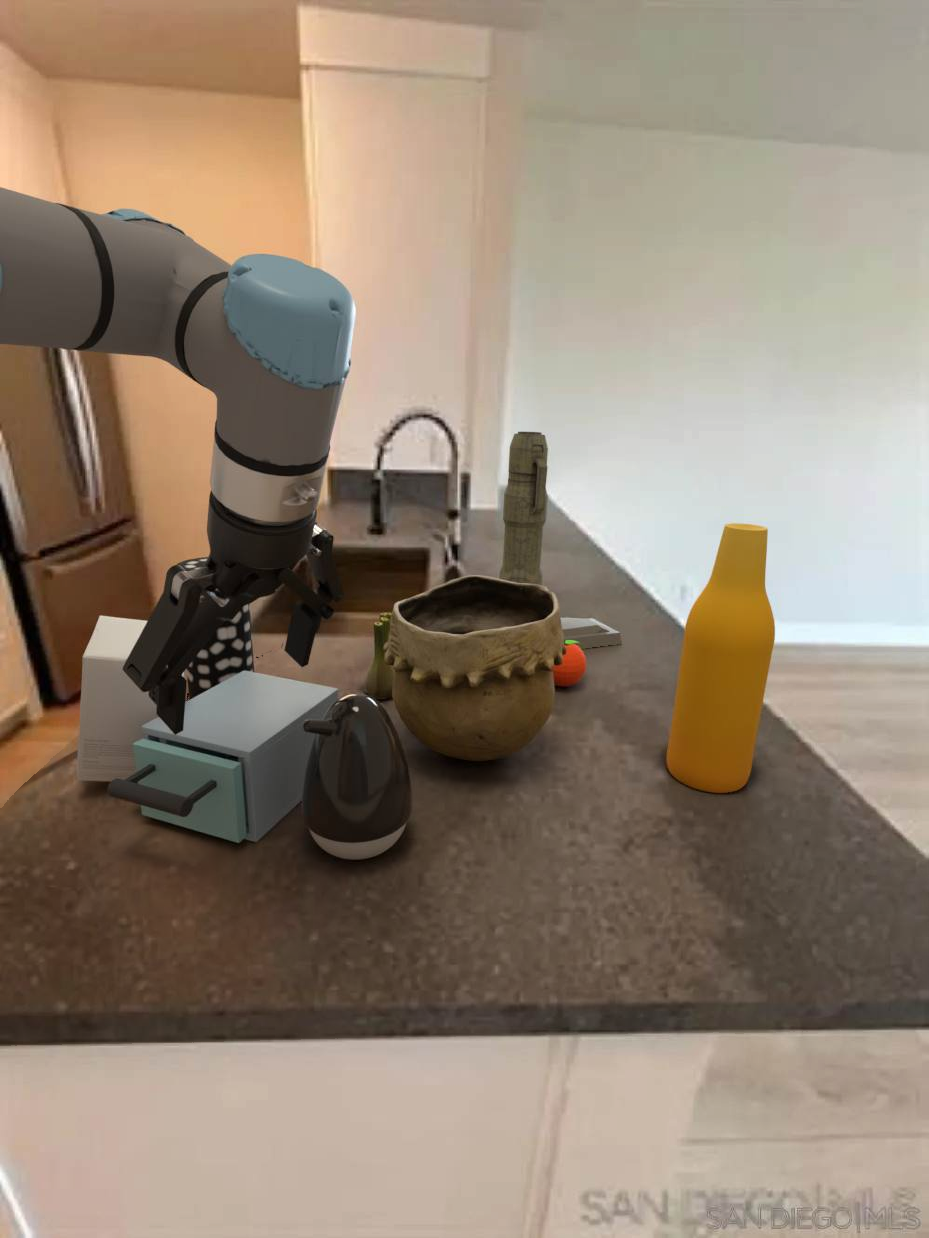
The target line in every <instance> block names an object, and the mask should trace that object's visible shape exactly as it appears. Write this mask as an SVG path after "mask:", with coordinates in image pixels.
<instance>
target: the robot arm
mask: <svg viewBox="0 0 929 1238" xmlns="http://www.w3.org/2000/svg"><path fill="white" fill-rule="evenodd" d="M356 311H357V309H356V305H355V300H354V297H353V295H352V294H351V292H350V291H349V290H348V288H347V287H346V286H345V285H344V283H342V281H340V280H339V279H338V278H336V277H335V276H334V275H332V274H330V273H329V272H327V271H324V270H323V269H321V268H318V267H313V266H310V265H308V264H305V263H304V262H303V261H301V260H298V259H295V258H291V257H287V256H283V255H277V254H270V253H269V254H268V253H251V254H246V255H243V256H241V257H238V259H235V261H234V262H232V264H231V263H229V262H227V261H226V260H224V259H222V258H221V257H220V256H219V255H217V254H215V253H213V252H212V251H211V250H209V249H207V248H206V247H204V246H202V245H201V244H199V243H197V242H196V241H195V240H194V239H193V238H192V237H190V236H188V235H186V233H185V232H184V231H183V230H182V229H181V228H179V227H177V226H175V225H173V224H172V223H170V222H169V223H168V222H164V221H161V220H159V219H158V218H155V217H154V216H152V215H149V214H147V213H145V212H143V211H140V210H137V209H133V208H118V209H116V210H111V211H109V212H105V213H101V214H100V213H96V212H93V211H89V210H85V209H82V208H78V207H74V206H70V205H66V204H65V203H58V202H52V201H49V200H46V199H43V198H39V197H36V196H32V195H28V194H25V193H22V192H18V191H16V190H12V189H8V188H4V187H1V186H0V345H11V346H23V347H39V348H50V349H51V348H52V349H62V350H70V351H78V352H91V353H104V354H115V355H126V356H138V357H139V356H140V357H151V358H155V359H159V360H162V361H164V362H166V363H168V364H169V365H171V366H172V367H174V368H175V369H177V370H178V371H179V372H181V373H182V374H183V375H185V376H187V377H188V378H190V379H191V380H192V381H194V382H195V383H197V384H198V385H200V386H202V387H203V388H206V389H207V390H209V391H210V392H212V393H213V395H215V397H216V417H215V418H216V419H215V422H214V435H213V436H214V437H213V445H212V446H213V447H212V454H211V455H212V456H211V466H210V477H209V486H210V489H211V490H210V492H209V497H208V508H207V509H208V510H207V519H206V521H207V522H206V523H207V524H206V534H207V540H208V545H209V554H208V556H207V557H208V559H207V560H206V562H205V564H204V566H203V568H199V569H195V570H191V571H185V570H184V569H183V568H182V567H181V566H180V565H177V564H174V565H171V566H170V567H169V568H168V569H167V571H166V573H165V581H164V585H163V592H162V594H161V595H160V597H159V599H158V601H157V603H156V604H155V607H154V608H153V610H152V612H151V614H150V616H149V618H148V620H146V621H147V623H146V625H145V627H144V629H143V631H142V632H141V634H140V636H139V638H138V640H137V642H136V644H135V645H134V647H133V649H132V651H131V653H130V655H129V657H128V658H127V660H126V662H125V664H124V666H123V671H124V672H125V673H126V674H127V675H128V677H129V678H130V679H131V680H132V681H133V682H134V683H135V684H136V685H137V687H138V688H139V689H140V690H141V691H142V692H147V691H149V697H150V699H151V700H152V701H153V702H154V703H155V704H156V705H157V710H156V714H157V715H158V716H159V717H160V718H161V720H162V721H163V722H164V723H165V724H166V725H167V726H168V727H169V729H170V730H171V731H172V732H173V733H174V734H175V735H176V734H178V733H180V732H181V731H183V727H184V713H185V702H186V699H187V698H186V697H187V685H188V681H187V678H185V676H184V677H183V676H182V674H183V672H184V673H185V671H186V669H187V667H188V666H189V665H190V664H191V662H192V661H193V660H194V659H195V657H196V656H197V655H198V654H199V652H200V651H201V650H202V649H203V647H204V646H205V645H206V644H207V642H208V641H209V640H210V638H211V637H212V636H213V635H214V633H215V632H216V631H217V630H218V628H219V627H220V626H221V625H222V623H223V622H224V621H226V620H228V621H230V620H232V619H234V617H235V616H236V615H237V614H238V612H239V611H240V610H241V609H242V607H243V606H245V605H247V604H250V605H251V604H252V603H254V602H255V601H257V600H258V599H261V598H266V597H269V596H271V595H274V594H276V591H277V590H278V589H279V588H280V587H281V586H282V585H284V586H285V587H286V588H288V589H289V590H290V591H292V592H293V593H294V594H295V595H296V596H298V597H299V598H300V599H301V600H298V601H296V602H293V606H292V611H291V616H290V620H289V626H288V629H287V635H286V640H285V644H284V645H285V646H284V649H283V650H284V652H285V653H287V655H288V656H290V657H291V658H292V659H293V660H294V661H295V662H296V663H297V665H298V666H300V667H301V668H304V667H306V666H308V665H309V662H310V657H311V653H312V649H313V645H314V640H315V637H316V634H317V633H318V631H319V630H320V626H321V624H322V619H324V620H329V619H330V618H331V617H333V615H334V613H335V609H334V608H333V607H332V606H331V605H330V603H332V602H334V603H337V604H338V603H340V602H341V601H342V600H343V599H344V597H345V591H344V588H343V585H342V581H341V579H340V575H339V572H338V569H337V565H336V562H335V559H334V555H333V547H334V540H335V538H334V535H333V534H332V533H331V532H329V531H328V530H327V529H326V528H325V527H323V526H322V525H321V524H320V523H319V522H318V521H317V516H318V515H317V514H318V510H317V509H318V506H319V503H320V499H321V493H322V488H323V483H324V480H325V479H324V478H325V473H326V468H327V464H328V460H329V456H330V451H331V440H332V437H333V436H332V435H333V431H334V427H335V423H336V420H337V415H338V412H339V408H340V403H341V400H342V396H343V392H344V387H345V384H346V381H347V378H348V374H349V372H350V371H351V364H352V357H351V352H352V345H353V338H354V331H355V323H356V315H357V313H356ZM305 556H306V558H307V561H308V563H309V566H310V569H311V572H312V574H313V578H314V580H315V583H316V586H317V587H316V588H314V589H312V588H311V587H310V586H309V585H308V584H307V583H306V582H305V581H304V580H303V579H302V578H300V577H299V576H298V575H297V574H296V573H295V572H294V571H293V570H294V569H295V568H296V566H297V565H298V563H299V562H300V561H301V560H302V559H304V557H305ZM216 589H218V590H219V591H220V592H221V593H222V594H223V595H224V596H226V597H227V598H228V599H229V601H228V602H227V604H226V605H225V604H224V603H223V602H222V601H221V600H220V599H219V598H218V597H216V596H215V590H216ZM303 601H304V602H303Z"/></svg>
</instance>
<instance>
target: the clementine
mask: <svg viewBox="0 0 929 1238" xmlns="http://www.w3.org/2000/svg"><path fill="white" fill-rule="evenodd" d="M575 643H579V642H577V641H574V640H564V645H565V647H566V648H567V652H566V654H565V655H562V664H561V665H558V666H556V665H554V667H553V678H554V686H557V687H569V686H572V685H575V684H576V683H578V681H580V680H581V679H582V677H583V676H584V674H585V672H586V668H587V659H586V656H585V653H587V649H585V646H584V645H583V644H581V643H580V644H581V645H582V646H583V647H584V649H581V648H580V647H579V646H577V645H576V644H575ZM583 650H584V651H583ZM584 652H585V653H584Z"/></svg>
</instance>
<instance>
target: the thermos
mask: <svg viewBox="0 0 929 1238" xmlns="http://www.w3.org/2000/svg"><path fill="white" fill-rule="evenodd" d="M512 436H513V437H512V439H511V442H510V444H509V453H508V454H509V456H508V479H507V485H506V488H505V490H504V493H503V512H502V521H503V523H504V533H503V534H504V536H503V537H504V538H503V556H502V565H501V567H500V570H499V579H502V580H506V581H511V582H516V583H529V584H537V585H541V586H543V572H542V568H541V564H542V563H541V562H542V549H543V533H544V526H545V523H546V522H547V511H548V510H547V509H548V492H547V488H546V487H547V479H548V478H547V476H548V475H547V474H548V455H549V447H548V442H547V438H546V435H545V434H542V432H539V431H517V433H514V434H513V435H512Z"/></svg>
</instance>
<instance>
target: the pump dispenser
mask: <svg viewBox="0 0 929 1238" xmlns="http://www.w3.org/2000/svg"><path fill="white" fill-rule="evenodd" d="M303 729H304V731H305V732H309V733H315V734H316V735H315V738H314V741H313V744H312V748H311V751H310V754H309V758H308V762H307V767H306V772H305V778H304V786H303V795H302V801H301V814H302V819H303V822H304V824H305V826H306V827H307V828H308V831H309V833H310V835H311V837H312V839H313V840H314V842H315V843H316V844H317V845H318V846H319V847H320V848H321V849H322V850H324V851H325V852H326V853H328V854H329V855H331V856H334V857H336V858H340V859H344V860H351V861H353V860H356V861H357V860H366V859H370V858H374V857H376V856H379V855H381V854H383V853H385V852H386V851H388V850H389V849H390V848H392V847H393V846H394V845H395V843H397V841H398V840H399V838H400V837H401V836H402V834H403V832H404V830H405V829H406V826H407V824H408V823H407V822H408V821H409V819H410V818H411V816H412V812H413V790H412V784H411V783H412V782H411V776H410V770H409V765H408V762H407V758H406V753H405V750H404V747H403V744H402V742H401V739H400V736H399V733H398V731H397V729H396V726H395V724H394V723H393V720H392V718H391V717H390V714H389V713H388V711H387V710H386V709H385V707H384V706H383V705H382V703H381V702H379V700H378V699H376V698H373V697H372V696H370V694H369V695H368V694H365V693H362V692H361V693H360V692H354V693H348V694H345V695H343V696H341V697H339V699H337V700H336V701H335V702H334V703H333V704H332V705H331V706H330V708H329V709H328V711H327V712H326V714H325V715H324V717H323V719H322V720H305V721H304V723H303Z"/></svg>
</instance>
